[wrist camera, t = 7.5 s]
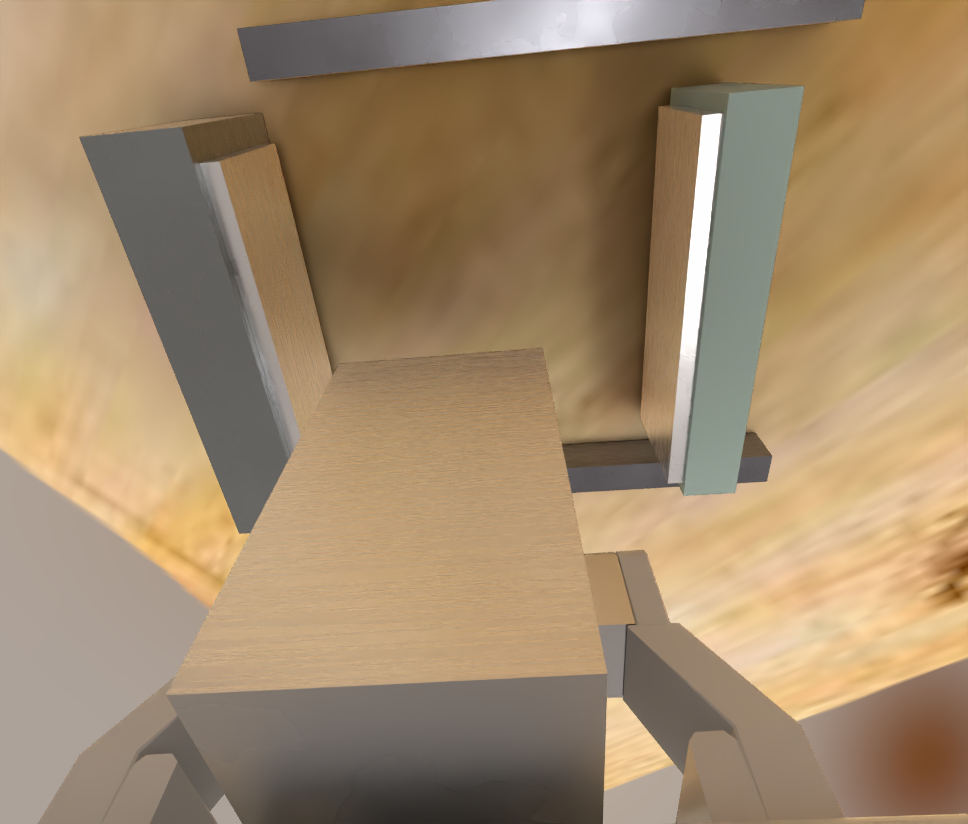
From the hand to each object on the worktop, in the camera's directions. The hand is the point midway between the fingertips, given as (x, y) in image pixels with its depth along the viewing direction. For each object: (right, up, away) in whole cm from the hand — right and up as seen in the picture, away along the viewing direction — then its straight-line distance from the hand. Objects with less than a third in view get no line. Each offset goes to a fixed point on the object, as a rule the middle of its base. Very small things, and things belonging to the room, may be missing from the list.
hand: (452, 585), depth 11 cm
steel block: (0, +1, +2) cm, 3 cm away
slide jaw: (+9, +9, +14) cm, 19 cm away
